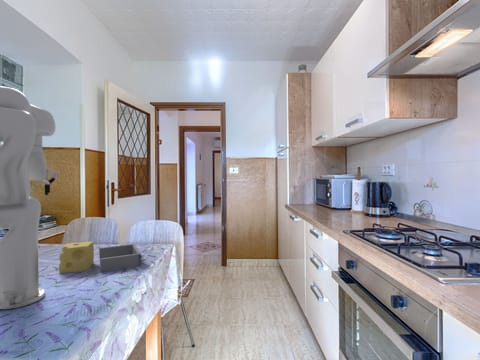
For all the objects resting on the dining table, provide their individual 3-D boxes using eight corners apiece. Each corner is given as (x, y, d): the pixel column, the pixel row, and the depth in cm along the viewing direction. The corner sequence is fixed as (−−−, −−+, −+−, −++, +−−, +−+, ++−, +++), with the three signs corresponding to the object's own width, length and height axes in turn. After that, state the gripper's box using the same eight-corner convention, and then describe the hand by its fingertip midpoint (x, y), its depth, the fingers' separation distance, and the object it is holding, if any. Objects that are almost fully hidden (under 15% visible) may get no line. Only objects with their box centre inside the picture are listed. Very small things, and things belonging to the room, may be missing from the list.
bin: (141, 265, 114) (140, 253, 114) (100, 272, 107) (100, 259, 107) (134, 254, 132) (134, 243, 132) (99, 258, 125) (99, 247, 125)
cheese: (58, 274, 105) (58, 248, 105) (68, 265, 116) (67, 242, 116) (88, 271, 108) (88, 246, 108) (95, 263, 118) (94, 240, 118)
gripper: (-3, 149, 97) (-1, 197, 97) (56, 150, 105) (57, 195, 105) (4, 150, 103) (5, 195, 104) (58, 152, 111) (59, 193, 112)
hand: (31, 195), depth 104 cm, fingers open, 9 cm apart
